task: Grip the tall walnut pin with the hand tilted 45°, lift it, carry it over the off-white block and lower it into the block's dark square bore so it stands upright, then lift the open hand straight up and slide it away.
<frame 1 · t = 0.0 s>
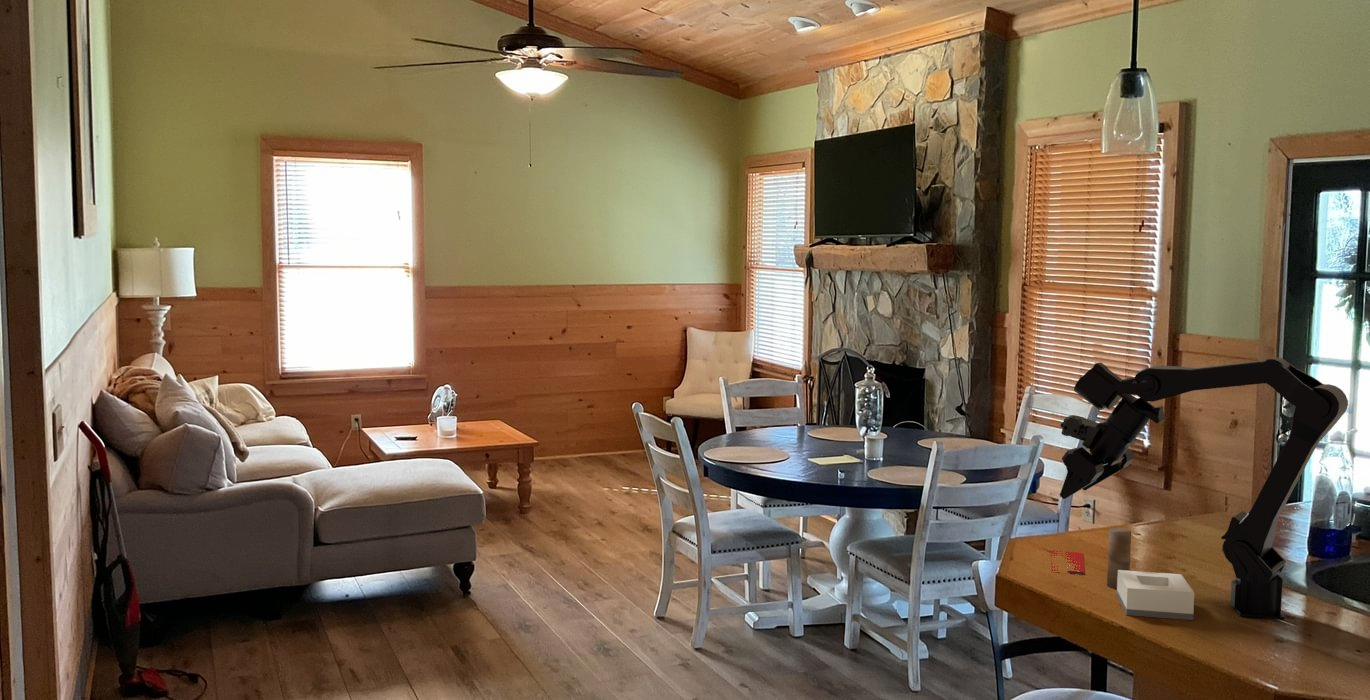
hand: (1072, 493, 195), 15 cm above the counter, tool tilted 35°, fingers open, 9 cm apart
electronic device: (1067, 565, 203), on the counter
walnut pin: (1117, 586, 188), on the counter
bore block: (1153, 607, 177), on the counter
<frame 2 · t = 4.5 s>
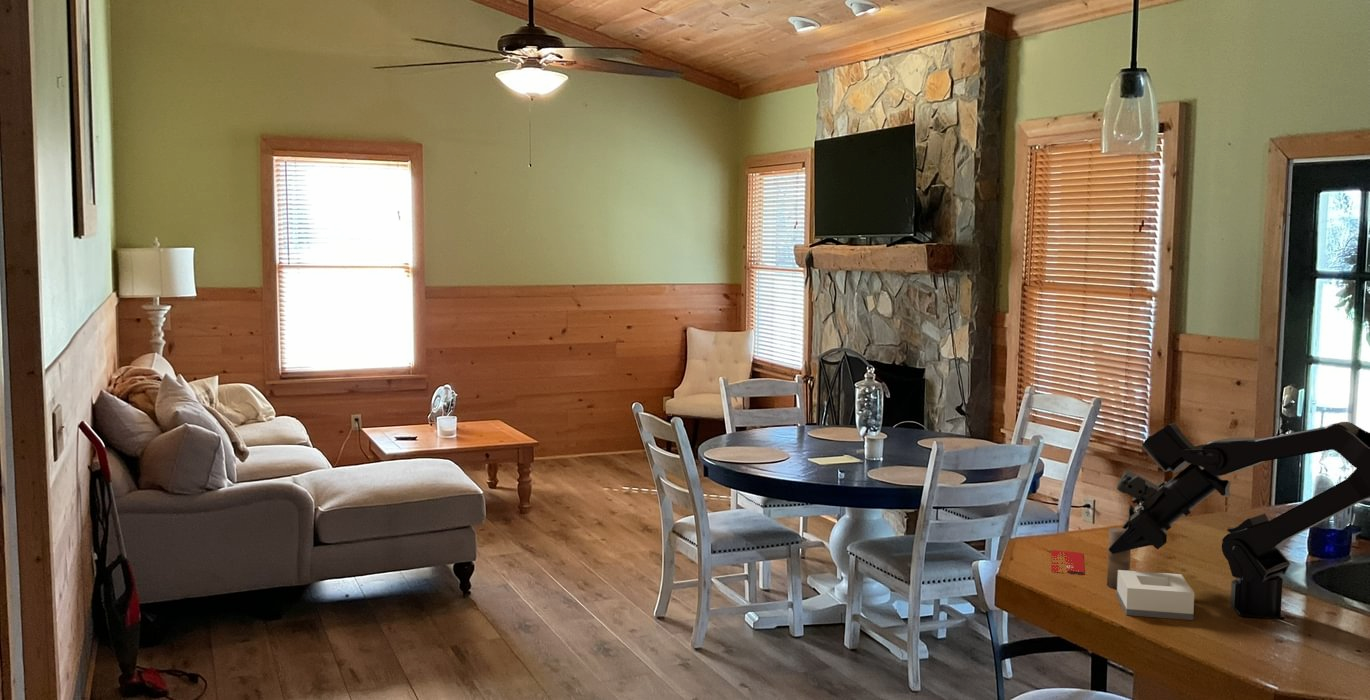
hand: (1110, 548, 188), 7 cm above the counter, tool tilted 45°, fingers closed on walnut pin, 4 cm apart
walnut pin: (1117, 586, 188), on the counter, touching gripper
everything else where it was.
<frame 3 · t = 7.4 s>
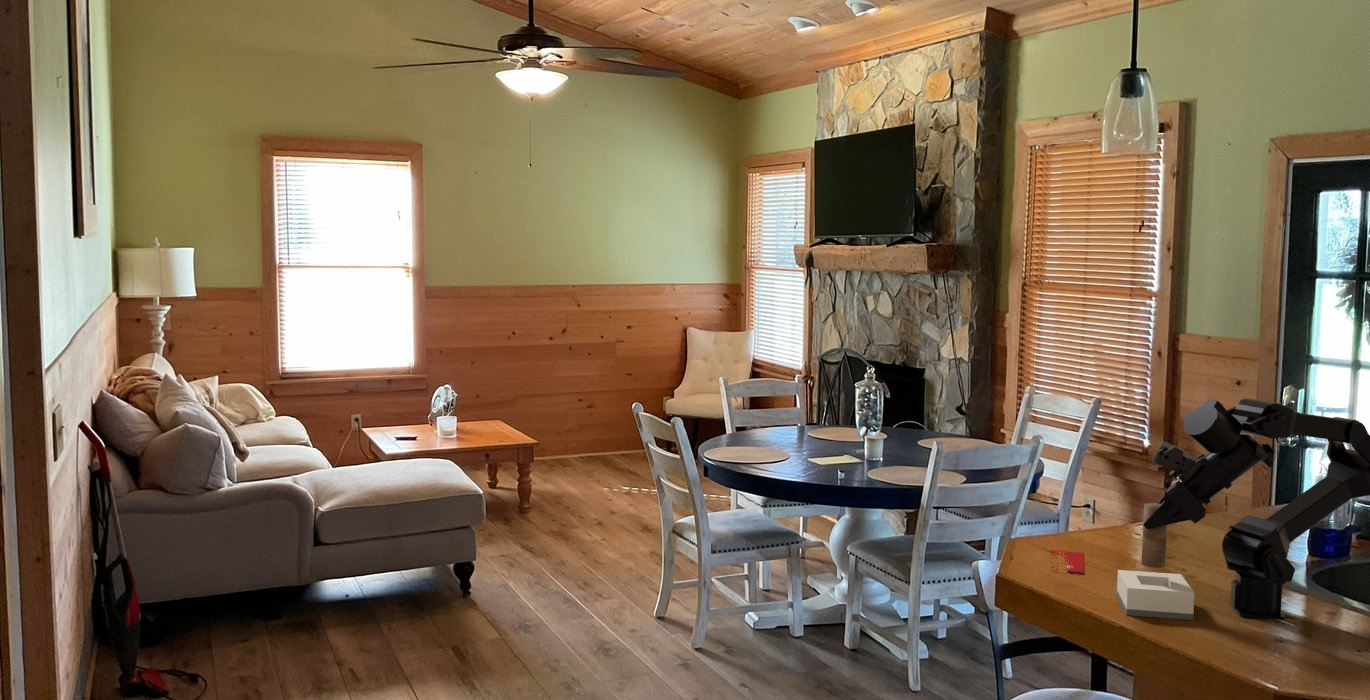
hand: (1145, 524, 178), 14 cm above the counter, tool tilted 45°, fingers closed on walnut pin, 4 cm apart
walnut pin: (1153, 564, 178), point 7 cm above the counter, touching gripper
everything else where it was.
when the fingers open (9 cm above the counter, at t = 10.4 s): walnut pin drops 1 cm, resting on bore block.
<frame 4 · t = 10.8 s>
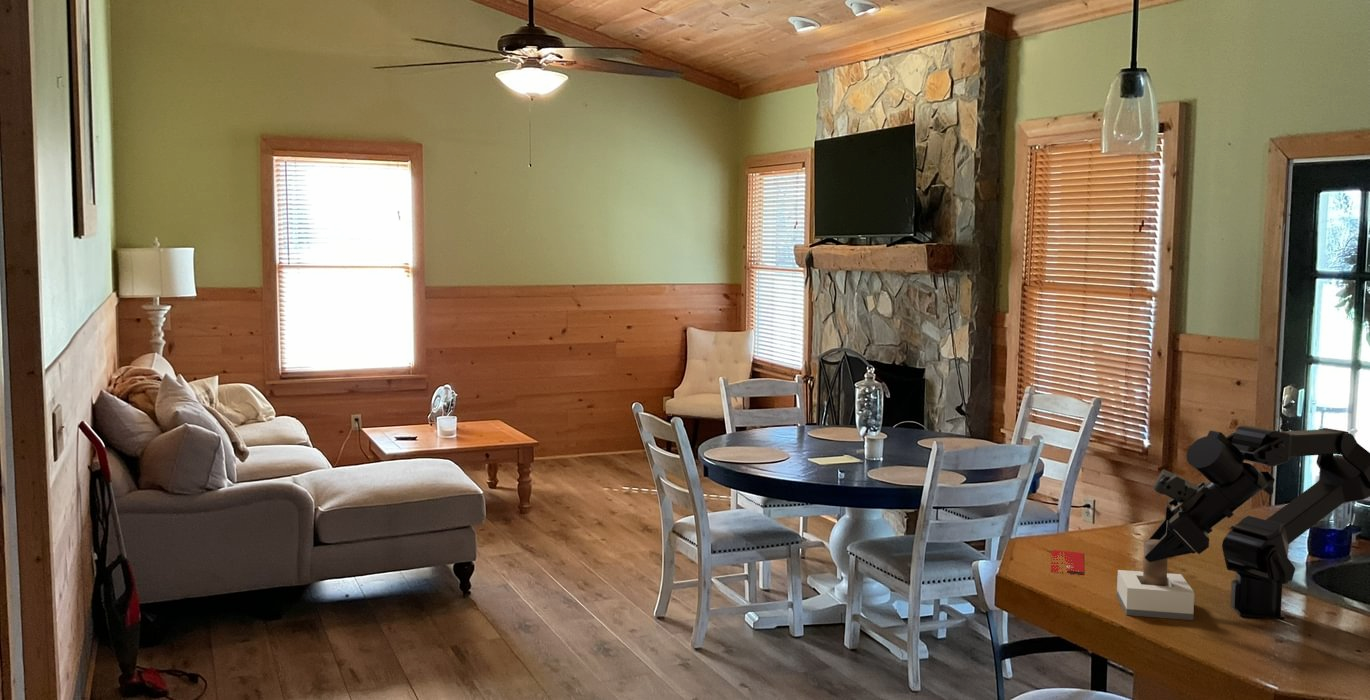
hand: (1146, 553, 177), 9 cm above the counter, tool tilted 45°, fingers open, 8 cm apart
walnut pin: (1154, 601, 177), point 1 cm above the counter, touching bore block
everything else where it was.
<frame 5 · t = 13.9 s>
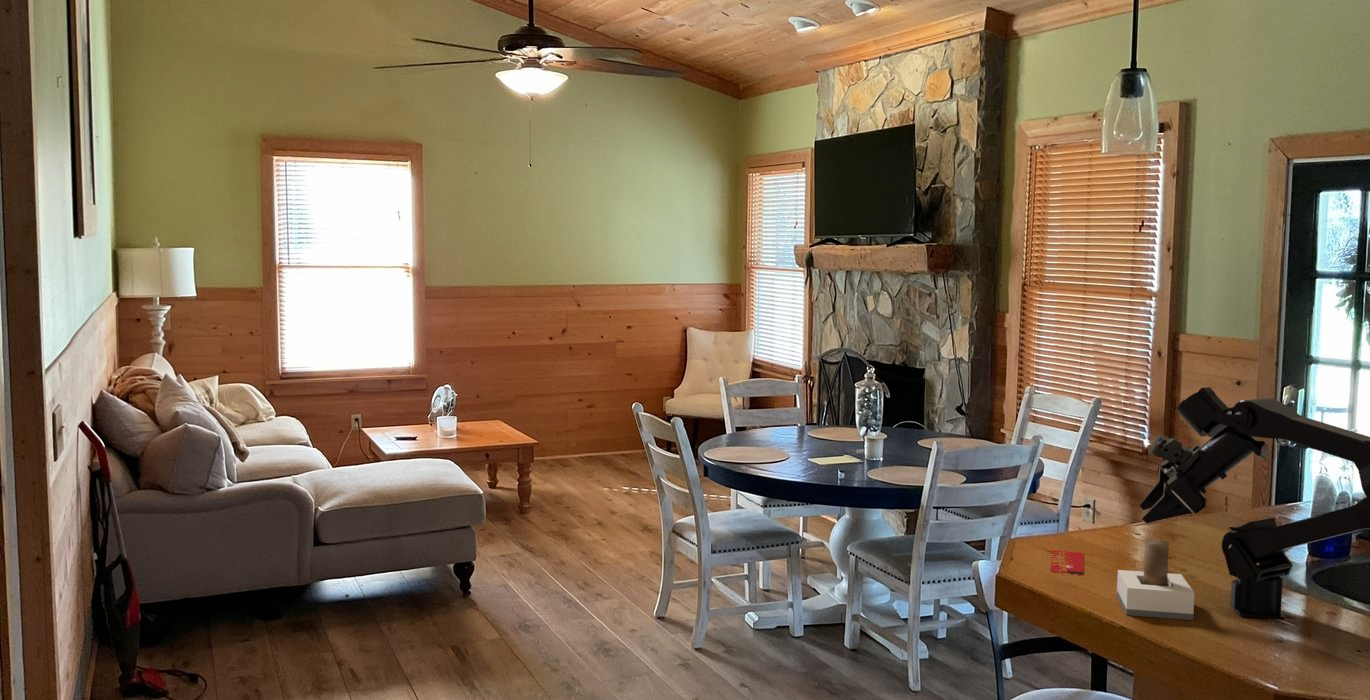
hand: (1142, 514, 184), 14 cm above the counter, tool tilted 45°, fingers open, 9 cm apart
nothing on the counter moved.
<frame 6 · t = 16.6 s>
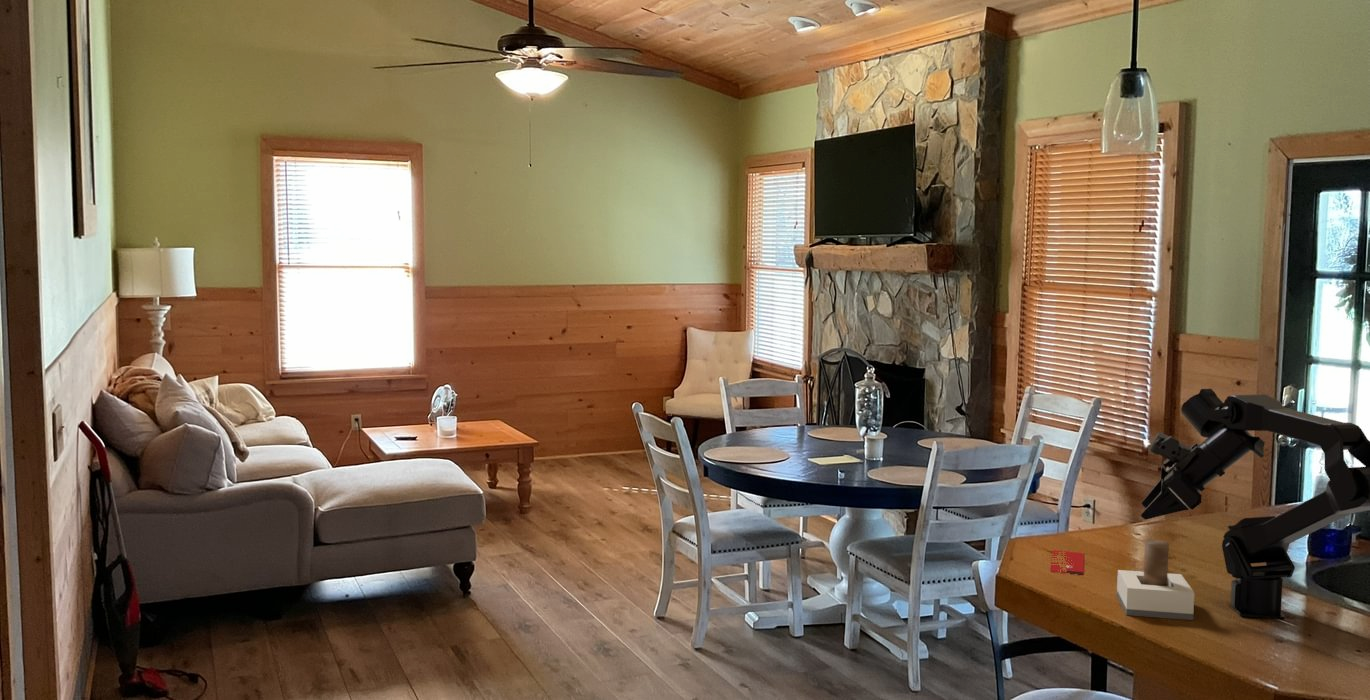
hand: (1142, 511, 187), 14 cm above the counter, tool tilted 45°, fingers open, 9 cm apart
nothing on the counter moved.
at the end: walnut pin 0.1 cm off-centre on the bore block, point 1.0 cm above the bore block's base; walnut pin tilted 0°; the gripper is holding nothing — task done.
